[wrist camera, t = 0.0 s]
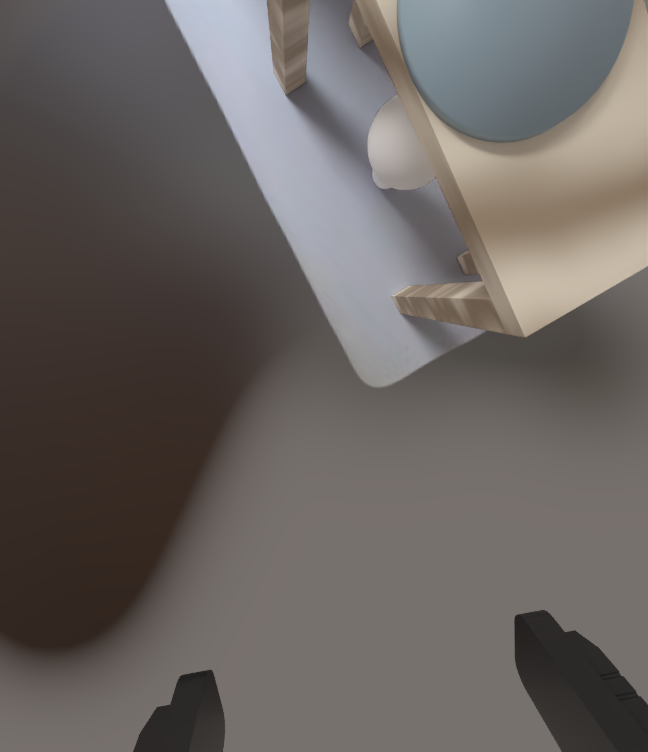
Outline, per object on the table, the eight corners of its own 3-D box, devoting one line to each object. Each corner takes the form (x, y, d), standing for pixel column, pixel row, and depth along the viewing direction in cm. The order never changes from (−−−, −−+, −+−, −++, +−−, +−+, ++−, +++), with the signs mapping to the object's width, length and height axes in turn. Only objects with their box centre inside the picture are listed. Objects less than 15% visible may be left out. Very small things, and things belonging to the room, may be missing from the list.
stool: (273, 71, 31) (235, -344, 11) (368, 11, 31) (514, -543, 10) (400, 313, 37) (533, 339, 16) (482, 264, 37) (723, 228, 16)
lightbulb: (363, 221, 35) (393, 189, 24) (342, 153, 33) (365, 87, 23) (423, 199, 35) (480, 157, 24) (404, 130, 33) (457, 53, 23)
